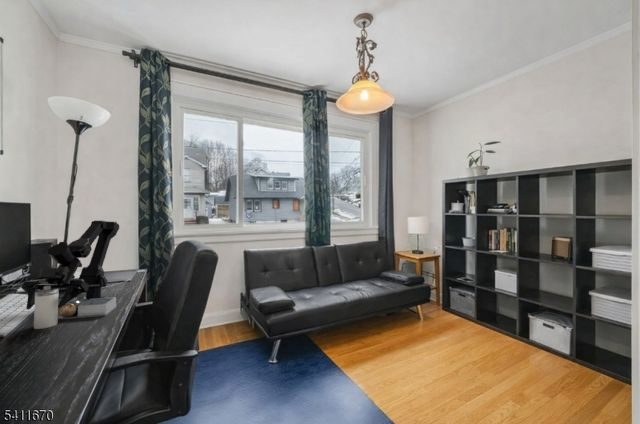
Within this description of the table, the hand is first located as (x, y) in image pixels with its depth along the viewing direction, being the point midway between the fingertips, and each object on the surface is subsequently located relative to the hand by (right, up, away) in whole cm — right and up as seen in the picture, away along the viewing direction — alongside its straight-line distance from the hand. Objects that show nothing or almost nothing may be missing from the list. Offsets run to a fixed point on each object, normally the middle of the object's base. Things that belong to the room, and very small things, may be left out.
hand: (43, 308), depth 96 cm
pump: (0, -7, +1) cm, 7 cm away
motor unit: (+4, -7, +13) cm, 15 cm away
